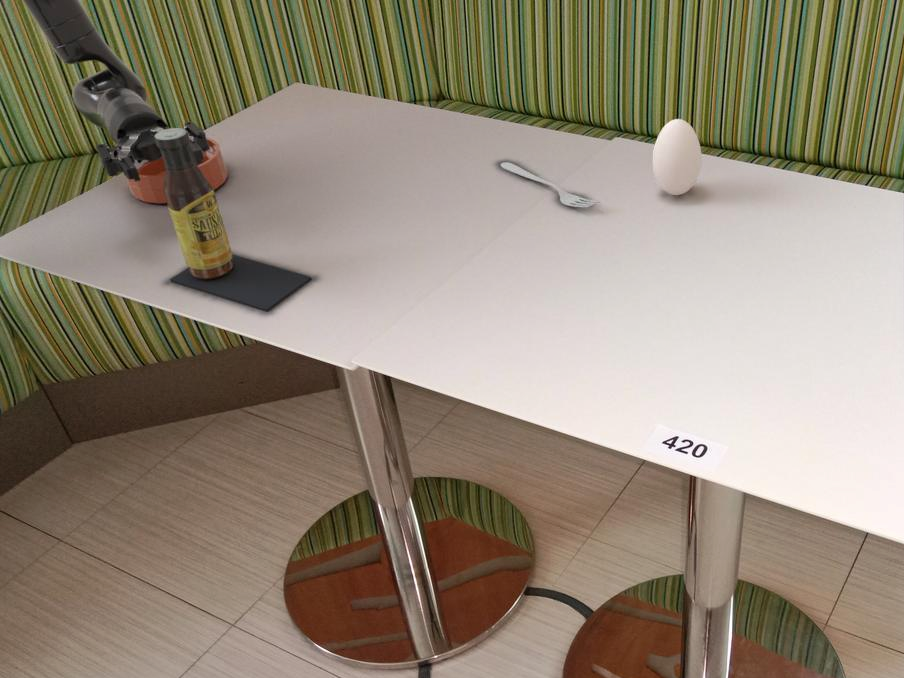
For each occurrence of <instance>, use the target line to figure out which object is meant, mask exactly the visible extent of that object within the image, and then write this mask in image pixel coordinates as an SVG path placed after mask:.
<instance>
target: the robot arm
mask: <svg viewBox="0 0 904 678" xmlns="http://www.w3.org/2000/svg"><path fill="white" fill-rule="evenodd" d="M21 2H23V4H24V5H25V7H26V9H27V10H28V11H29V13H30V15H31V16H32V18H33V19H34V21H35V23H36V24H37V25H38V27H39V29H40V30H41V32H42V34H43V35H44V36H45V38H46V40H47V41H48V43H49V44H50V46H51V47H52V49H53V51H54V53H56V55H57V57H58V58H59V60H61V61H62V62H63V63H65V64H67V65H75V64H81V63H86V62H98V63H101V64H102V65H104V67H105V68H104V69H102V70H100V71H98V72H96V73H93V74H91V75H89V76H86V77H85V78H82V79H81V80H79V81H77V82H76V83H75V84H74V86H73V88H72V91H71V93H72V94H71V96H72V100H73V103H74V105H75V107H76V109H77V110H78V112H79V114H81V115H82V116H83V117H84V118H85V119H86V120H87V121H89V122H90V123H91V124H93V126H94V125H95V126H96V127H99V128H101V129H105V130H107V133H108V135H109V136H110V137H109V138H110V139H111V140H112V142H113V143H115V144H116V146H112V147H111V146H109V145H108V146H107V145H106V144H105V143H100V144H97V145H96V147H95V148H96V152H97V153H98V156H99V158H100V160H101V163H102V165H103V167H104V169H105V172H106V173H107V175H108V177H116V176H117V175H118V173H122V175H124V174H125V176H126V177H127V178H128V179H130V180H131V179H134V181H135V182H137V181H140V177H139V175H138V172H137V169H139V168H140V167H141V166H142V165H143V164H144V163H149V162H154V161H156V160H159V159H160V158H162V154H161V151H160V149H159V147H158V146H157V144H156V141H155V134H156V133H158V132H160V131H162V130H165V129H171V128H172V127H170V126H169V125H168V123H166V121H165V120H164V119H163V118H162V117H161V116H160V115H159V113H157V110H156V109H154V108H153V106H151V105H150V104H149V103H148V102H146V101H147V90H146V87H145V85H144V83H143V81H142V80H141V79H140V78H139V76H138V75H137V74H136V73H135V72H134V71H133V70H132V69H131V68H130V67H129V66H128V65H127V64H126V63H125V62H124V61H123V60H121V58H119V56H118V55H117V54H116V53H115V52H114V51H113V50H112V49H111V47H110V46H109V45H108V44H107V42H106V41H105V40H104V38H103V37H102V35H101V34H100V32H99V31H98V29H97V28H96V26H95V24H94V23H93V21H92V20H91V18H90V16H89V14H88V13H87V11H86V10H85V8H84V6H83V5H82V3H81V1H80V0H22V1H21ZM183 129H184V130H186V131H187V133H188V136H189V139H190V142H189V144H190V148H191V151H192V154H193V158H194V159H195V163H196V164H197V165H198V164H202V161H201V160H203V159H204V155H203V152H202V151H208V150H209V149H210V148H209V145H208V142H207V139H206V137H207V135H206V132H205V131H204V130H203V129H202V128H200V127H199V126H198V125H197V124H195V122H193V121H186V122H185V123H184V126H183ZM125 176H124V177H125Z"/></svg>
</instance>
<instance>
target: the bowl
mask: <svg viewBox="0 0 904 678" xmlns="http://www.w3.org/2000/svg"><path fill="white" fill-rule="evenodd" d="M206 139H207V142H208V145H209V148H210V149H209V150H208V151H202V152H203V155H204V159H203V160H201V161H202V164H198V165H197V166H198V168H199V169H200V171H201V172H202V173H203V175H204V176H205V178H206V179H207V181H208V182H209V184H210V185H211V187H212V188H213V190H214V191H215V190H216V189H218V188H219V187H220V186H222V185H223V184H224V183H225V182H226V180H227V178H228V176H229V175H228V169H227V166H226V163H225V159H224V156H223V152H222V149H221V146H220V144H219V142H217V141H216V140H214V139H212V138H210V137H207V136H206ZM137 172H138V175H139V177H140V181H137V182H135V181H134V179H131V180H130V179H128V178H127V177H126V176H125V174H123V176H124V179H125V181H126V184H127V186H128V189H129V192H130V194H131V195H132V196H133V197H134V198H135V199H137V200H140V201H142V202H145V203H151V204H168V203H167V200H166V197H165V194H164V191H163V181H164V177H165V174H166V168H165V166H164V161H163V158H160V159H159V160H156V161H154V162H149V163H144V164H143V165H142V166H141V167H140V168H139V169H137Z"/></svg>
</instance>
